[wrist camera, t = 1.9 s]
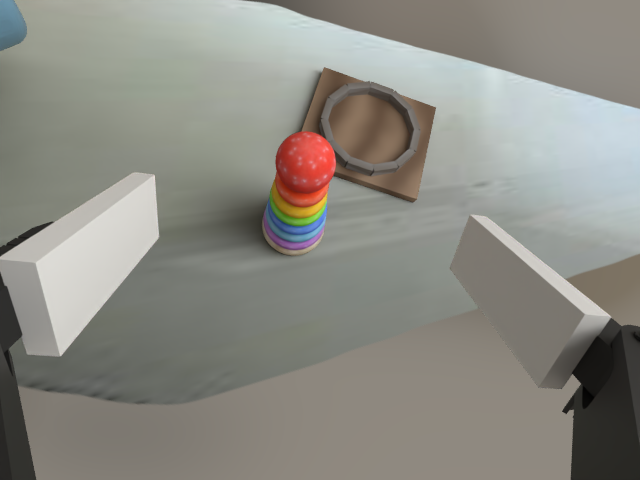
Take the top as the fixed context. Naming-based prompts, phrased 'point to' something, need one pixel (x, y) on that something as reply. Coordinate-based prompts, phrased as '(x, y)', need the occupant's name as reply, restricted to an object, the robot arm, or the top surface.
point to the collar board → (372, 133)
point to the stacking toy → (299, 194)
